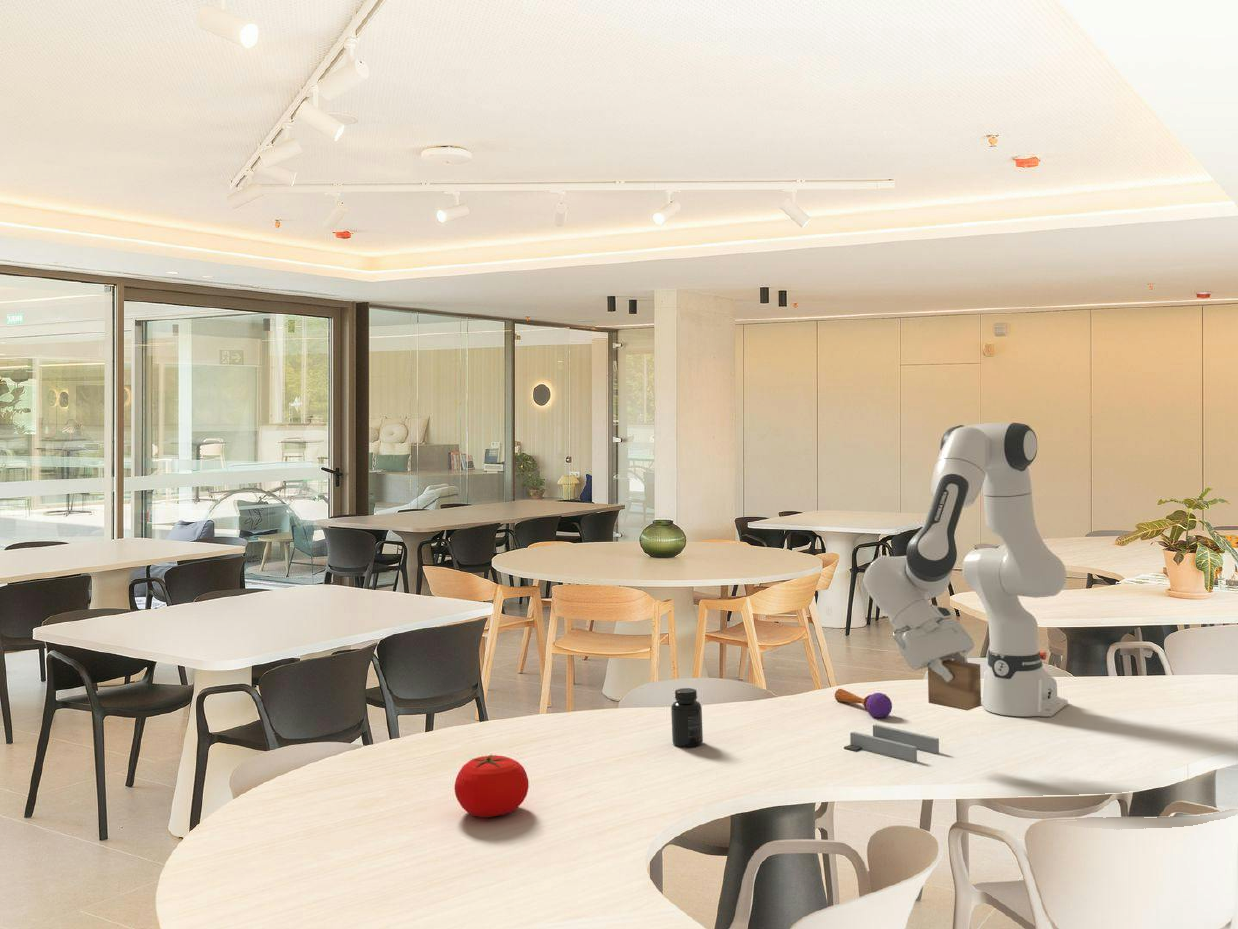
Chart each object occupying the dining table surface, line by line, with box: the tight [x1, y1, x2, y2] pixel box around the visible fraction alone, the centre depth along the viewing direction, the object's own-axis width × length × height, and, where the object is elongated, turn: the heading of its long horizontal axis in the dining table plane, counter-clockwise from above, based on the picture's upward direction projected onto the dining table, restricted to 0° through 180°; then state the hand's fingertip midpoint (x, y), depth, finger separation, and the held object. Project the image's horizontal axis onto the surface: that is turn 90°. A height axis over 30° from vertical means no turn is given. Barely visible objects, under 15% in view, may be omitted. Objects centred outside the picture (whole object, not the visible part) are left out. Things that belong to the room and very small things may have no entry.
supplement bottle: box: [670, 687, 704, 748], centre depth 241 cm, size 7×7×12 cm
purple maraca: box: [834, 688, 893, 719], centre depth 266 cm, size 6×6×20 cm
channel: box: [843, 723, 940, 763], centre depth 233 cm, size 14×16×3 cm
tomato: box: [453, 754, 530, 818], centre depth 201 cm, size 14×13×10 cm
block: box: [927, 659, 982, 712], centre depth 222 cm, size 5×9×8 cm, turn 41°
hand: (960, 676), depth 221 cm, fingers closed on block, 5 cm apart
